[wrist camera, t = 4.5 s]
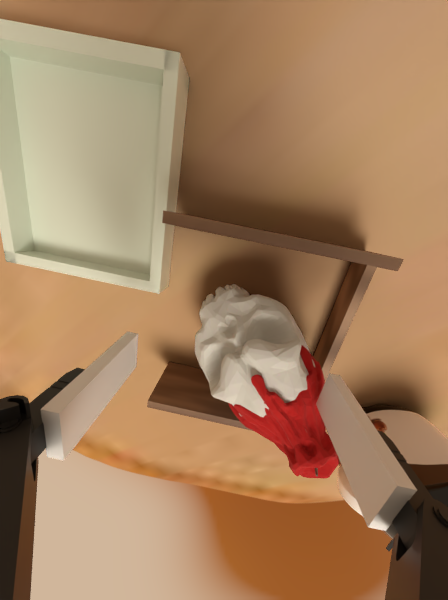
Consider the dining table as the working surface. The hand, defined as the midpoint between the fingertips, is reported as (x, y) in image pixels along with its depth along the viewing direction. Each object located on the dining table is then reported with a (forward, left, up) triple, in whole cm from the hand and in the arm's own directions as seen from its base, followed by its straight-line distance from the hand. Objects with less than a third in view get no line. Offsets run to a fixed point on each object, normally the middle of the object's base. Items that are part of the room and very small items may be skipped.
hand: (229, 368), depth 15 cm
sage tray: (-11, -15, -9) cm, 20 cm away
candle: (-1, 0, -9) cm, 9 cm away
